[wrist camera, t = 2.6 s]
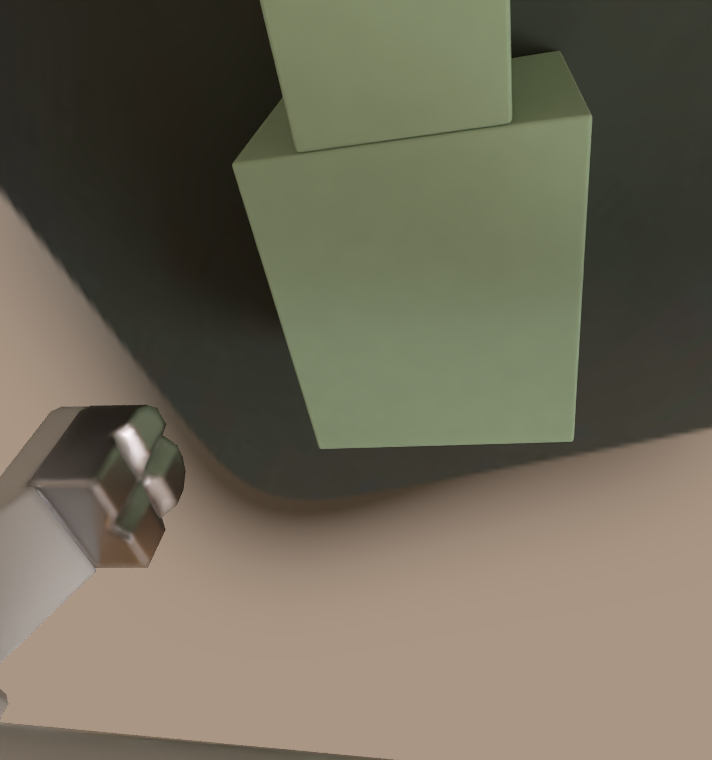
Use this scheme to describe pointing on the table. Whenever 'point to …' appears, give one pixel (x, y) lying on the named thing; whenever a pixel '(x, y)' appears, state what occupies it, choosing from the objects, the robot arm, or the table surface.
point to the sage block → (422, 221)
